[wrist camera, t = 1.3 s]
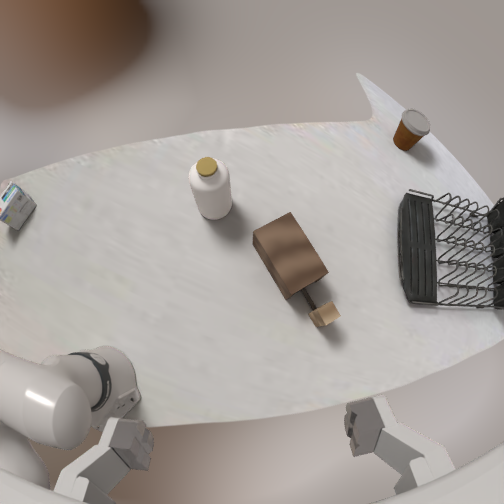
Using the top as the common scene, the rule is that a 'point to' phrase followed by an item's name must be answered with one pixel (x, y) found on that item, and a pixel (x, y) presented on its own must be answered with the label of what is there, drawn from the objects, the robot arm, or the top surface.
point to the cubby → (288, 255)
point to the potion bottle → (211, 187)
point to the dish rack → (419, 271)
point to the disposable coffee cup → (411, 129)
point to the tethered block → (321, 312)
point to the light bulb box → (15, 206)
